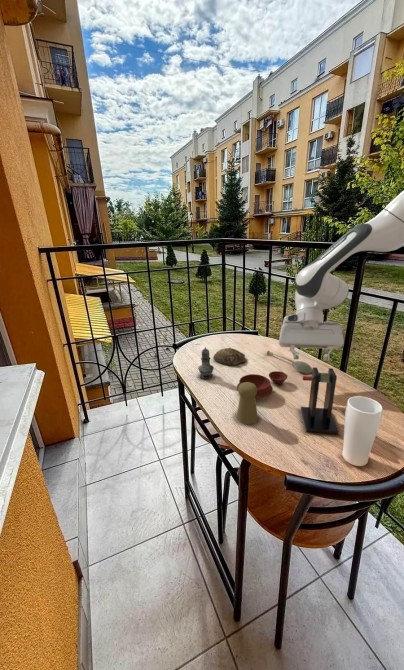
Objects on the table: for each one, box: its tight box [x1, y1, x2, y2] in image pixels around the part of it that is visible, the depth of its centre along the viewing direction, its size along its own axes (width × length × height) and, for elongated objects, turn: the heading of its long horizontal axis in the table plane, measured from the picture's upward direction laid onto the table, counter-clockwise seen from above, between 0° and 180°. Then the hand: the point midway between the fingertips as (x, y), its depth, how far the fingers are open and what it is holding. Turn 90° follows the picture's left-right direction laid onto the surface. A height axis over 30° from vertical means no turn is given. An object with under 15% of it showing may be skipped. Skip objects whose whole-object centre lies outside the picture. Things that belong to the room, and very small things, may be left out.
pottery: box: [236, 371, 288, 399], centre depth 95 cm, size 12×20×4 cm, turn 123°
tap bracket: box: [300, 367, 339, 436], centre depth 76 cm, size 10×8×16 cm
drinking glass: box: [341, 395, 383, 467], centre depth 63 cm, size 7×7×15 cm
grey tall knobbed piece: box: [197, 347, 215, 381], centre depth 103 cm, size 6×6×12 cm
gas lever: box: [302, 372, 330, 384], centre depth 80 cm, size 16×6×2 cm
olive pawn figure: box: [236, 382, 258, 425], centre depth 80 cm, size 6×6×11 cm
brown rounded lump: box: [213, 347, 246, 366], centre depth 118 cm, size 13×12×5 cm
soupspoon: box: [266, 350, 313, 375], centre depth 113 cm, size 22×3×7 cm
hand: (311, 359), depth 91 cm, fingers open, 8 cm apart
